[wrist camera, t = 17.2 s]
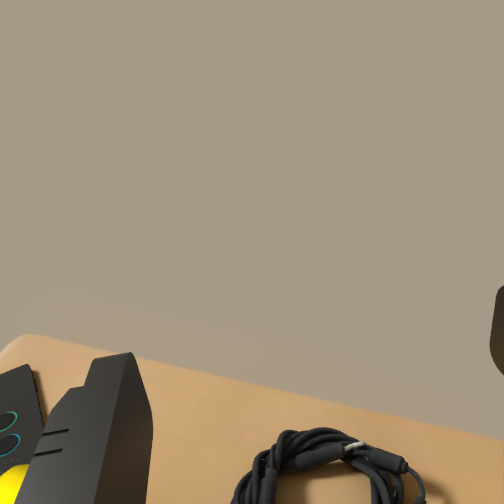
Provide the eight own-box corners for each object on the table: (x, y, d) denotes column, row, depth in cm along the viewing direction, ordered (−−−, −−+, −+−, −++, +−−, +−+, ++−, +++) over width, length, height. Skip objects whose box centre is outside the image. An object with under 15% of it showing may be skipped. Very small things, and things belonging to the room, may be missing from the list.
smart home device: (-43, 511, 39) (-39, 389, 55) (-35, 522, 40) (-33, 399, 56) (51, 462, 43) (29, 361, 59) (56, 474, 44) (34, 370, 59)
